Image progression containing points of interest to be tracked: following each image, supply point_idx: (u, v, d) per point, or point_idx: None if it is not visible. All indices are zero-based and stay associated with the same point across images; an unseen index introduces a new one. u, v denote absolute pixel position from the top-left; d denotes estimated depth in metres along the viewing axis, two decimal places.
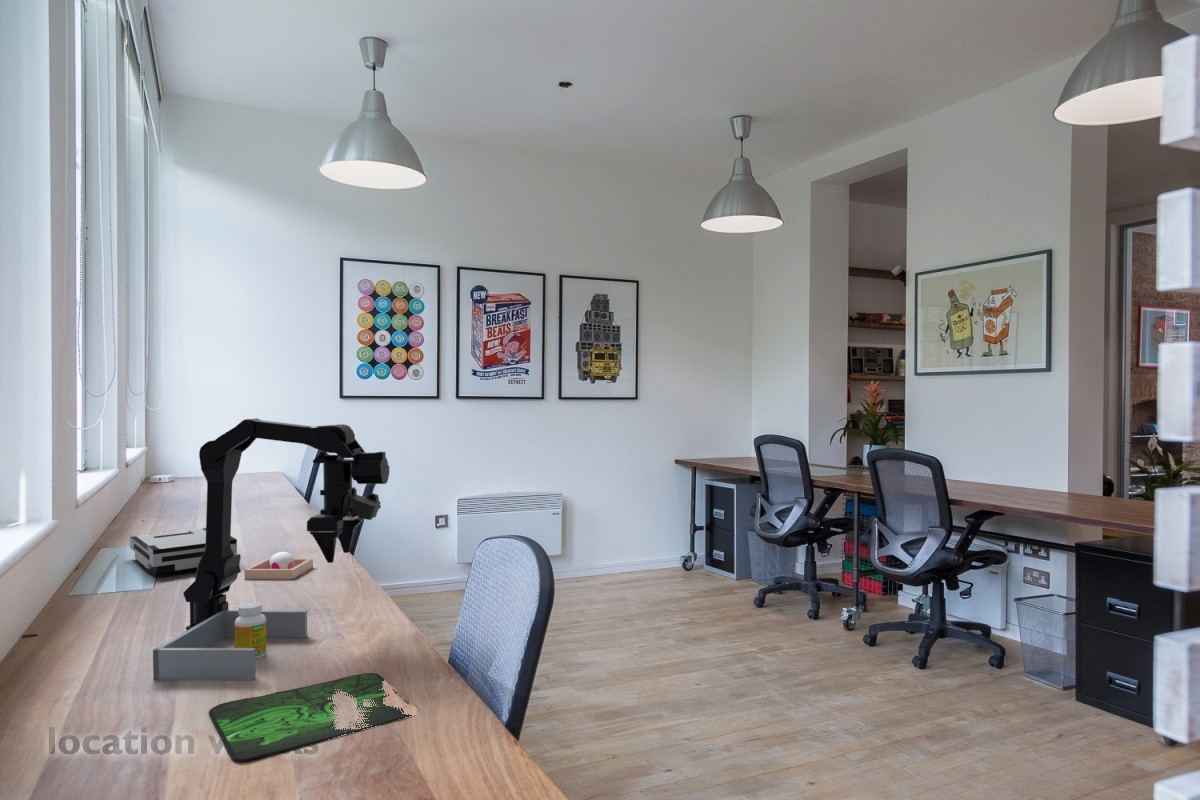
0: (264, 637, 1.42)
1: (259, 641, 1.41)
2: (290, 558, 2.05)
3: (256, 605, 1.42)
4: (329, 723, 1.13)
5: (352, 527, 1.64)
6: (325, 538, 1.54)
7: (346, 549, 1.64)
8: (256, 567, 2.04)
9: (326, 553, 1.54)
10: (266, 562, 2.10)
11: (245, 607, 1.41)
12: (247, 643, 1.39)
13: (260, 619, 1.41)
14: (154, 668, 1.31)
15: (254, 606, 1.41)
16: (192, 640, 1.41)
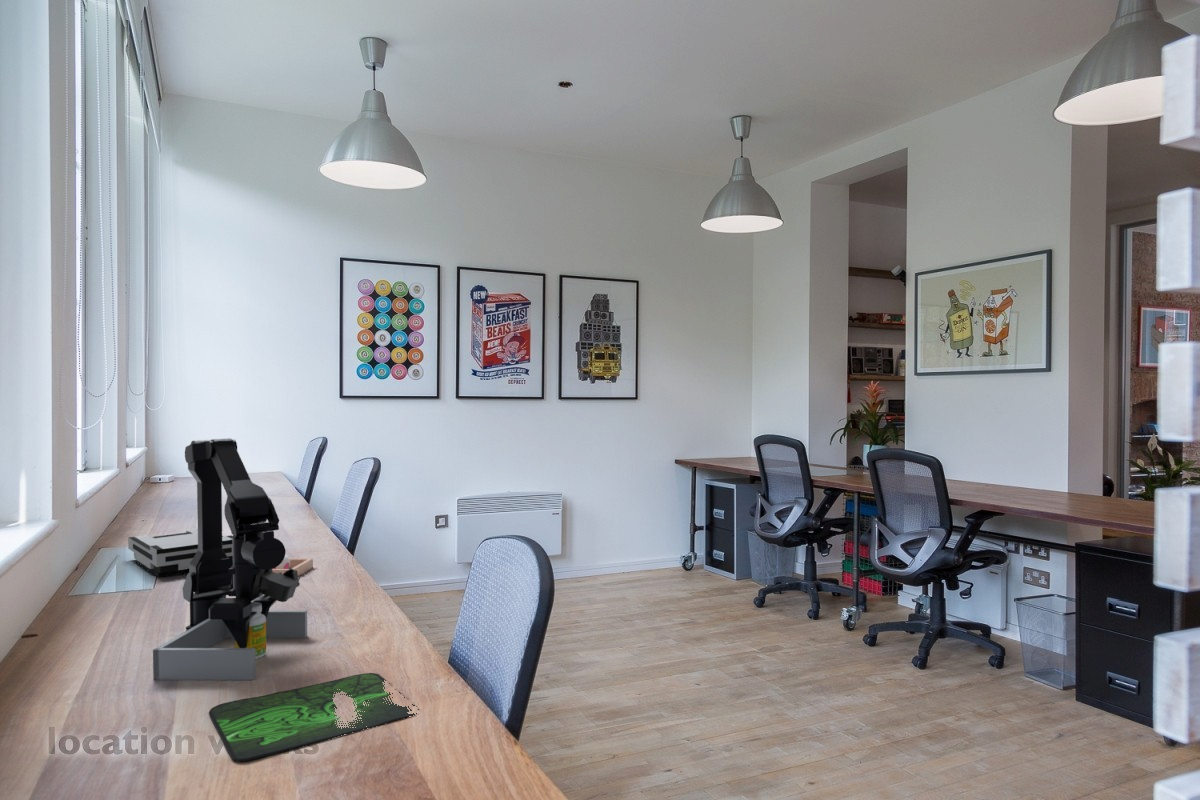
0: (264, 637, 1.42)
1: (259, 641, 1.41)
2: (286, 559, 2.04)
3: (256, 605, 1.42)
4: (329, 723, 1.13)
5: (264, 609, 1.45)
6: (236, 622, 1.38)
7: None
8: None
9: (238, 638, 1.38)
10: None
11: None
12: (247, 643, 1.39)
13: (260, 619, 1.41)
14: (154, 668, 1.31)
15: (254, 606, 1.41)
16: (192, 640, 1.41)
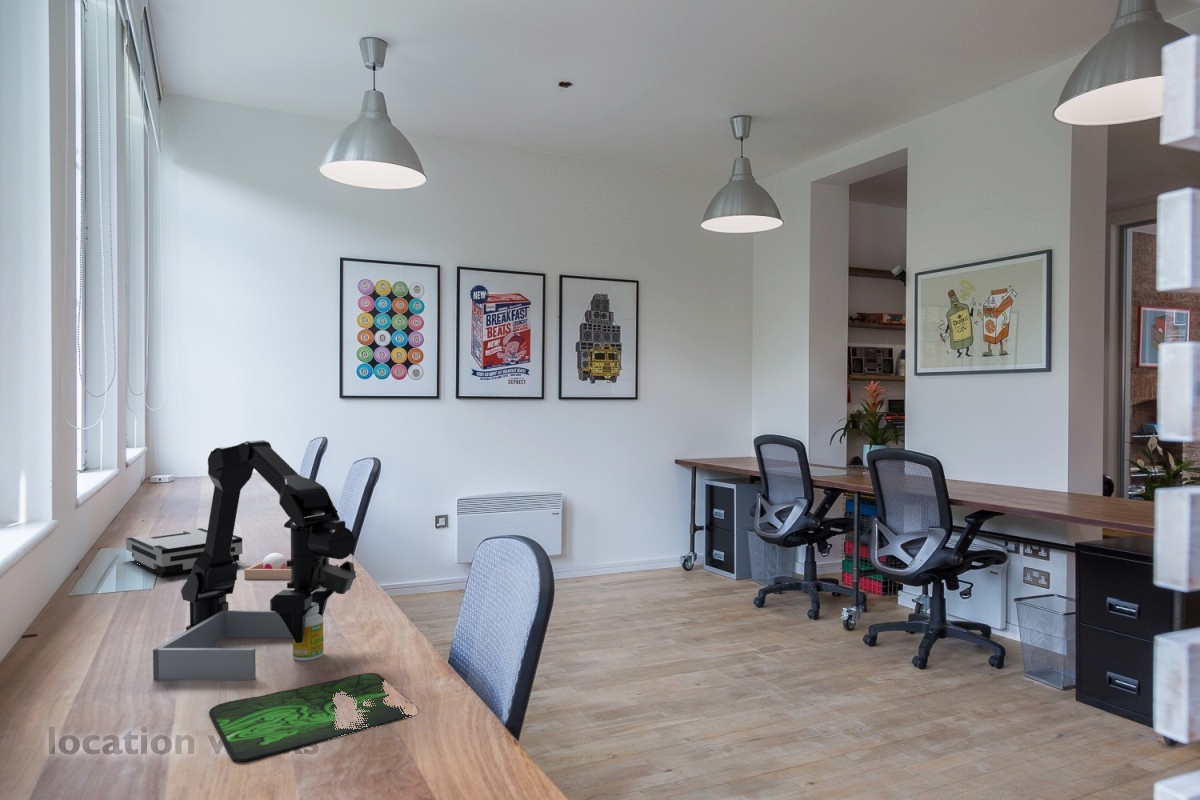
0: (321, 637, 1.42)
1: (317, 641, 1.40)
2: (283, 559, 2.03)
3: (313, 605, 1.42)
4: (329, 723, 1.13)
5: (323, 599, 1.46)
6: (293, 616, 1.36)
7: None
8: (256, 567, 2.04)
9: (294, 632, 1.37)
10: None
11: None
12: (305, 643, 1.39)
13: (318, 619, 1.41)
14: (154, 668, 1.31)
15: None
16: (192, 640, 1.41)
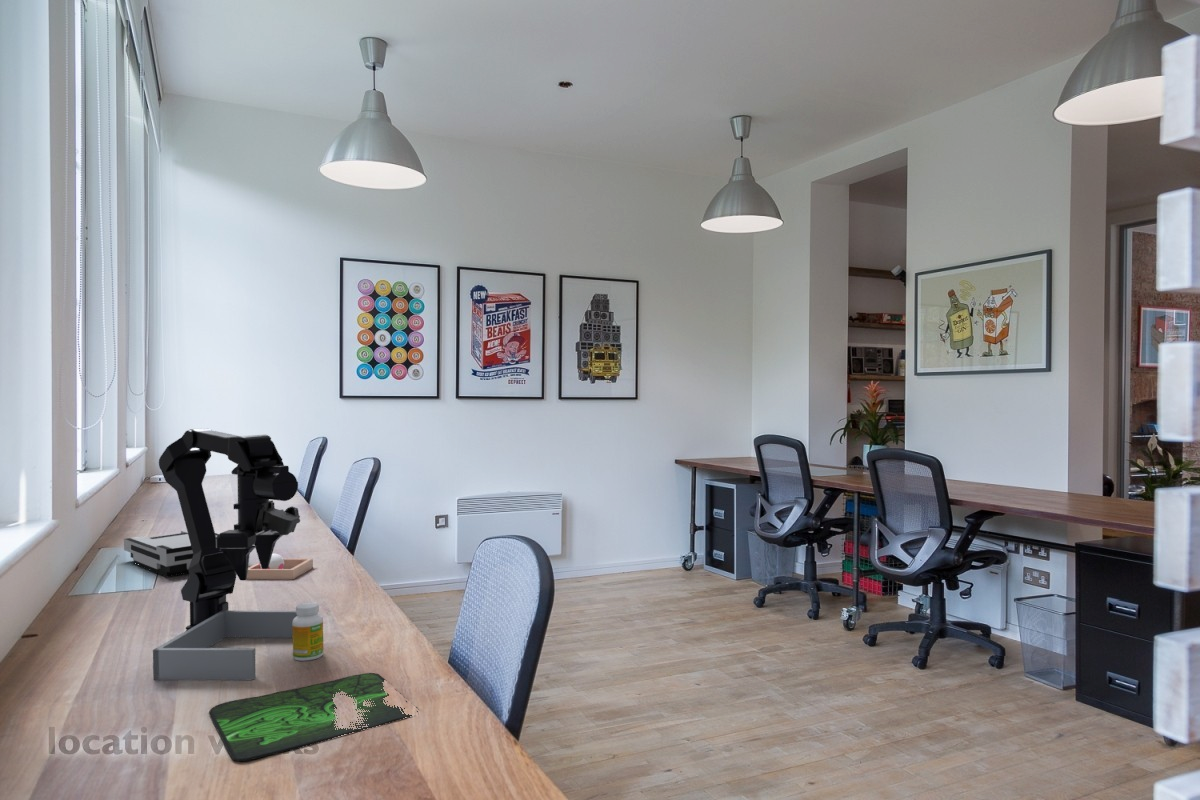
0: (321, 637, 1.42)
1: (317, 641, 1.40)
2: (281, 560, 2.03)
3: (313, 605, 1.42)
4: (329, 723, 1.13)
5: (271, 542, 1.57)
6: (237, 555, 1.46)
7: (265, 565, 1.56)
8: (256, 567, 2.04)
9: (238, 570, 1.47)
10: None
11: (303, 607, 1.40)
12: (305, 643, 1.39)
13: (318, 619, 1.41)
14: (154, 668, 1.31)
15: (312, 606, 1.41)
16: (192, 640, 1.41)
